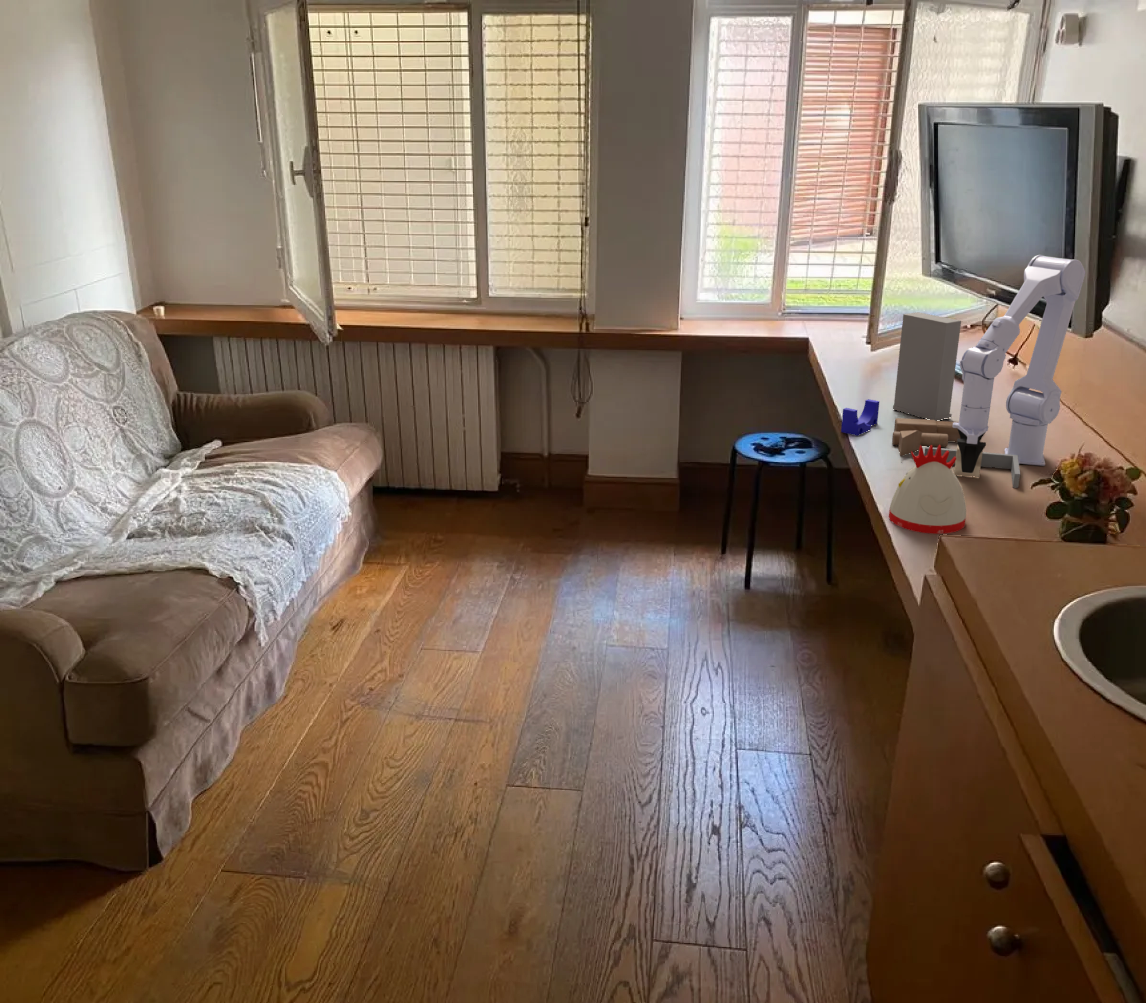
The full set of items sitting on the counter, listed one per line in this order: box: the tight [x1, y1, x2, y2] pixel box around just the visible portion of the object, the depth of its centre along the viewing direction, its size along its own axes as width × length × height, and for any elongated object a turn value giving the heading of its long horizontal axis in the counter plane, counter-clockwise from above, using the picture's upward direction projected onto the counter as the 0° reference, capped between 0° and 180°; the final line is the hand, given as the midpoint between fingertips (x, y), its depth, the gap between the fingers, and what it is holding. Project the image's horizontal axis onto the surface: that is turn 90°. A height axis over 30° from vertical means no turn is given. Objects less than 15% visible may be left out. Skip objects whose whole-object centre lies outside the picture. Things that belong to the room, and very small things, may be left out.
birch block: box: [953, 444, 984, 478], centre depth 218 cm, size 4×5×6 cm
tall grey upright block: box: [892, 311, 962, 421], centre depth 257 cm, size 14×6×25 cm, turn 31°
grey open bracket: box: [922, 447, 1021, 489], centre depth 219 cm, size 13×20×3 cm, turn 70°
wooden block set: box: [891, 417, 960, 457], centre depth 236 cm, size 17×6×18 cm
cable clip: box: [840, 399, 880, 436], centre depth 250 cm, size 12×4×6 cm, turn 135°
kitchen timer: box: [888, 445, 967, 535], centre depth 192 cm, size 14×14×15 cm
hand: (967, 466), depth 218 cm, fingers open, 7 cm apart
